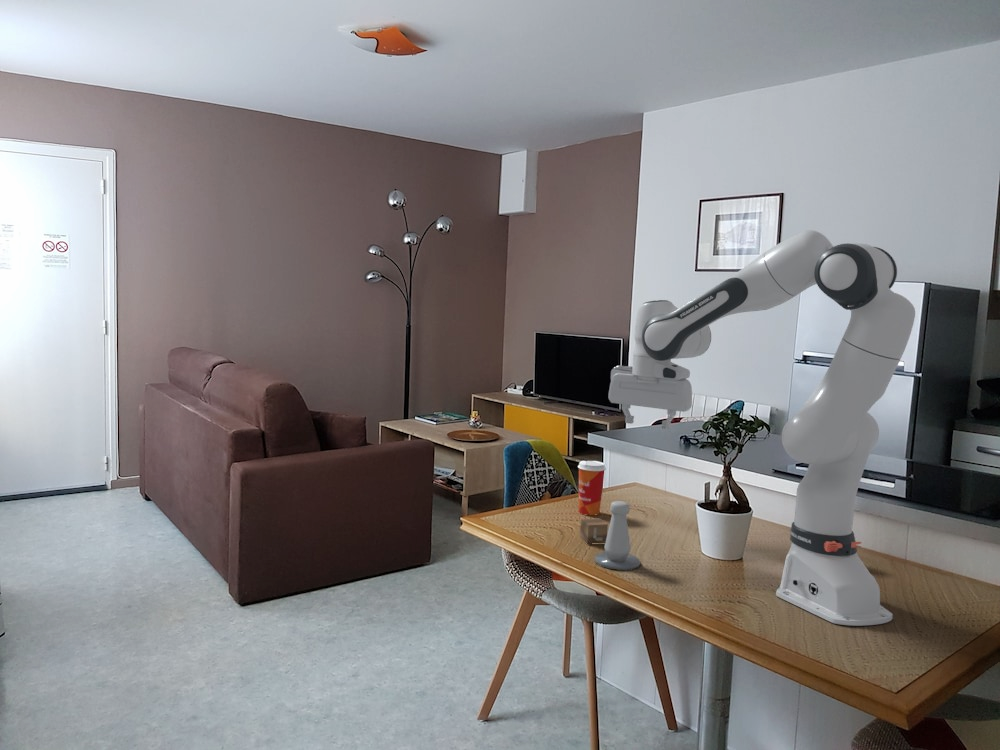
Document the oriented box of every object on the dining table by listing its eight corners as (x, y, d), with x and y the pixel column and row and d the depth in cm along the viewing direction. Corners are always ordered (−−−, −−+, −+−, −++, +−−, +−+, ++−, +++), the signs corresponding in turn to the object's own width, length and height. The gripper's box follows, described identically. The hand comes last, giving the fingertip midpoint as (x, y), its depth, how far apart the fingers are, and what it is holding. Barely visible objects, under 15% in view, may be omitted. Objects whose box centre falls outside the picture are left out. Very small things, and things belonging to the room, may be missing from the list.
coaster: (647, 569, 169) (647, 565, 168) (605, 571, 166) (605, 568, 166) (627, 553, 178) (627, 550, 178) (587, 556, 175) (588, 552, 175)
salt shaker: (629, 555, 174) (633, 500, 173) (630, 564, 169) (634, 506, 167) (603, 553, 175) (607, 497, 174) (603, 561, 170) (607, 504, 168)
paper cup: (571, 508, 214) (574, 459, 212) (598, 508, 215) (601, 459, 214) (579, 517, 206) (582, 466, 205) (606, 516, 208) (610, 466, 206)
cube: (606, 544, 184) (608, 524, 184) (587, 545, 183) (588, 525, 183) (598, 537, 189) (599, 518, 189) (579, 538, 188) (580, 518, 188)
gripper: (605, 365, 185) (602, 421, 187) (687, 373, 174) (682, 433, 175) (617, 364, 191) (613, 418, 192) (696, 371, 179) (692, 429, 181)
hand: (647, 425), depth 184 cm, fingers open, 8 cm apart
